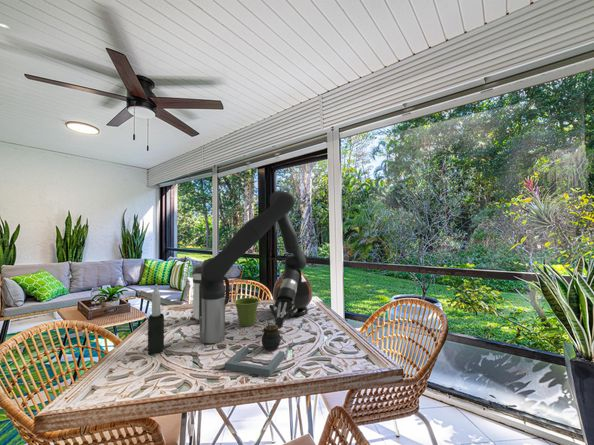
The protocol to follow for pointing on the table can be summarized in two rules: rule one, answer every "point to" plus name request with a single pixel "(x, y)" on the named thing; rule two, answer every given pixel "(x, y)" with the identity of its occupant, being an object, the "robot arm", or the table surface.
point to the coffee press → (198, 294)
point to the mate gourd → (271, 337)
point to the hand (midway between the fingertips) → (278, 327)
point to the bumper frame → (251, 368)
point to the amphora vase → (302, 294)
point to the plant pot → (246, 310)
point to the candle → (155, 326)
